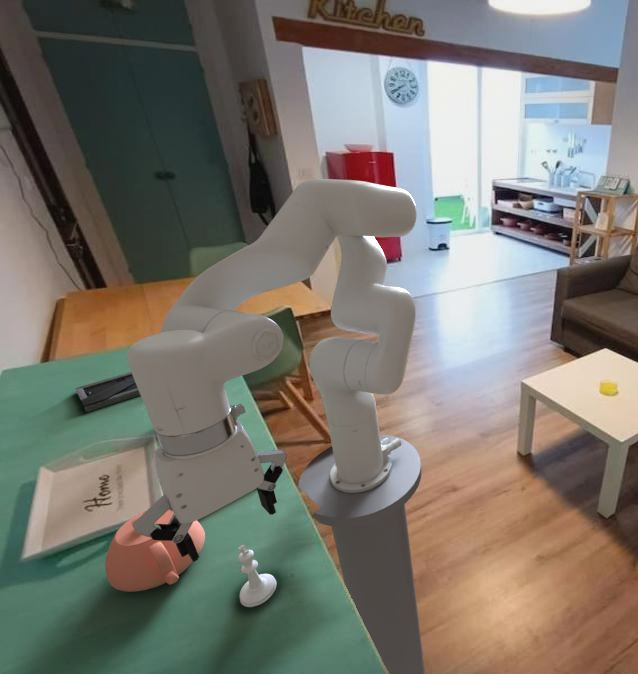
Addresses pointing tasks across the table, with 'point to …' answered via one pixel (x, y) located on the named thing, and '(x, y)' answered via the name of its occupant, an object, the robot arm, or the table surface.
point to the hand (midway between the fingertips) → (233, 530)
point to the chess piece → (254, 581)
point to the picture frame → (108, 391)
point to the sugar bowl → (147, 557)
